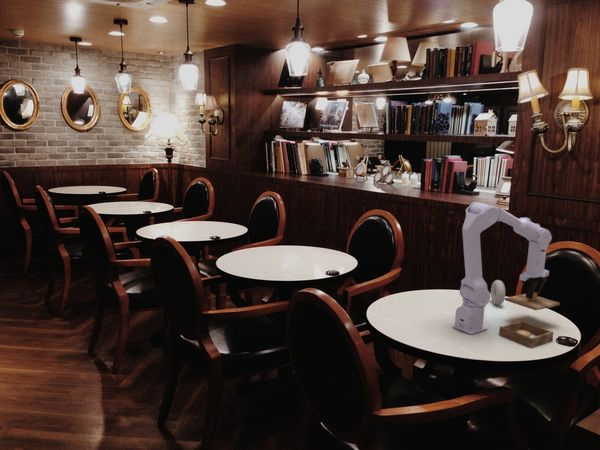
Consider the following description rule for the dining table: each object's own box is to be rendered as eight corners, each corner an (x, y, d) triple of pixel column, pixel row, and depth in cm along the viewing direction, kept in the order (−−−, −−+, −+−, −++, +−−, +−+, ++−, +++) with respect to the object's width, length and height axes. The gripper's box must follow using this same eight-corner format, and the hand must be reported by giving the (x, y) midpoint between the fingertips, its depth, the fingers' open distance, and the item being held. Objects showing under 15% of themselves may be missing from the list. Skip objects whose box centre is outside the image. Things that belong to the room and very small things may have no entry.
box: (530, 348, 171) (531, 339, 170) (498, 335, 180) (499, 326, 180) (552, 340, 177) (553, 332, 176) (520, 328, 187) (521, 320, 186)
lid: (535, 310, 183) (536, 299, 182) (504, 300, 194) (505, 290, 193) (559, 305, 189) (560, 294, 188) (528, 295, 200) (529, 285, 199)
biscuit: (525, 338, 179) (525, 335, 179) (513, 334, 183) (513, 331, 182) (532, 335, 182) (533, 333, 181) (521, 331, 185) (521, 328, 185)
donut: (505, 309, 207) (507, 284, 205) (496, 308, 207) (498, 284, 206) (497, 300, 217) (499, 277, 215) (488, 300, 217) (490, 276, 215)
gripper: (534, 265, 181) (529, 303, 184) (558, 260, 189) (554, 297, 192) (516, 260, 187) (512, 297, 190) (540, 256, 195) (536, 291, 197)
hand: (531, 297), depth 191 cm, fingers closed on lid, 3 cm apart
